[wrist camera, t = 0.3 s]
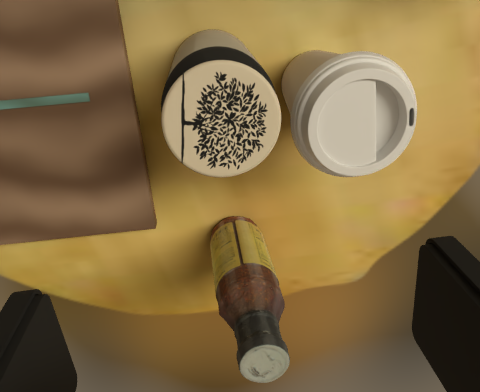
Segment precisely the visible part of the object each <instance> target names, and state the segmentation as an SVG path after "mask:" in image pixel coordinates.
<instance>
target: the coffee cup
mask: <svg viewBox="0 0 480 392" xmlns="http://www.w3.org/2000/svg"><path fill="white" fill-rule="evenodd" d="M282 93H283V97H284V99H285V102H286V104H287V107H288V110H289V112H290V115H291V133H292V137H293V140H294V143H295V145H296V148H297V149H298V151H299V153H300V154H301V156H302V157H303V158H304V159H305V160H306V161H307V162H308V163H309V164H310V165H312V166H313V167H315V168H316V169H318V170H320V171H322V172H325V173H327V174H330V175H334V176H339V177H356V176H362V175H368V174H371V173H374V172H377V171H379V170H381V169H383V168H385V167H386V166H388V165H389V164H391V163H392V162H393V161H394V160H395V159H397V158H398V157H399V156H400V154H401V153H402V152H403V151H404V149H405V148H406V147H407V145H408V143H409V141H410V139H411V137H412V135H413V132H414V129H415V124H416V115H417V102H416V96H415V92H414V89H413V86H412V84H411V82H410V80H409V78H408V76H407V75H406V73H405V72H404V71H403V70H402V68H401V67H400V66H399V65H398V64H396V63H395V62H394V61H392V60H391V59H389V58H387V57H385V56H383V55H380V54H377V53H373V52H366V51H357V52H349V53H345V54H337V53H331V52H326V51H320V50H312V51H307V52H304V53H302V54H300V55H298V56H297V57H295V58H294V59H293V60H292V61H291V62H290V63H289V65H288V66H287V68H286V69H285V71H284V74H283V77H282Z"/></svg>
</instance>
